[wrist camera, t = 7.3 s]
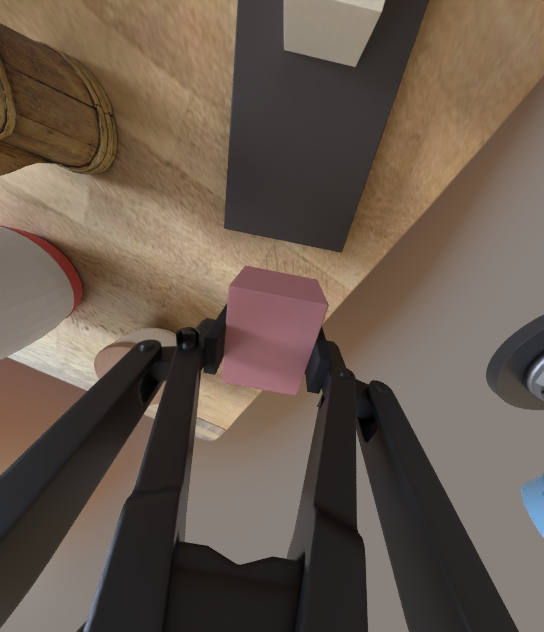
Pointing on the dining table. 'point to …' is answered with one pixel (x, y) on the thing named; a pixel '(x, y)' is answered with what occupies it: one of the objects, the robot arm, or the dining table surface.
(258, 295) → the pink block
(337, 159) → the backrest board
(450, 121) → the dining table surface
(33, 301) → the citrus juicer
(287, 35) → the cream block
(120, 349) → the trinket box
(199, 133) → the dining table surface
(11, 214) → the dining table surface
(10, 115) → the wooden mug
